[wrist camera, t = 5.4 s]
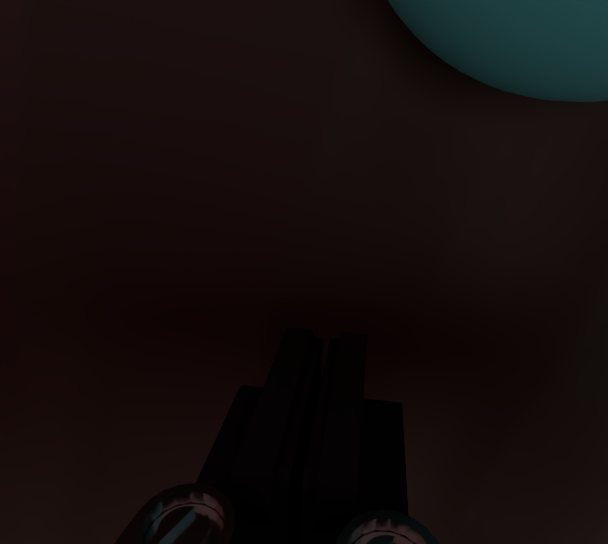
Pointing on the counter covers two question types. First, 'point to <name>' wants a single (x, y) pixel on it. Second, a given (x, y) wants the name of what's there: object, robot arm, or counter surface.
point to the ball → (519, 43)
